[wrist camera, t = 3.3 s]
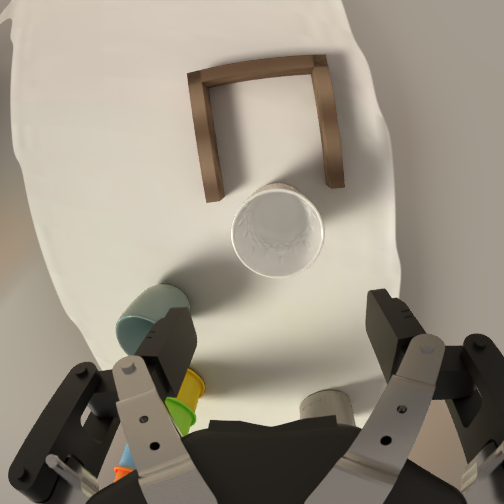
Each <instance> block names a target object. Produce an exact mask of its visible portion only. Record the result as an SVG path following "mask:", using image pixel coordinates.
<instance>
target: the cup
mask: <svg viewBox="0 0 504 504" xmlns="http://www.w3.org/2000/svg"><path fill="white" fill-rule="evenodd" d="M171 307H188V309H189V311H190V304H189V301H188V299H187V297H186V295H185V294H184V293H183V292H182V291H181V290H180V289H179V288H177V287H175V286H172V285H167V284H159V285H155V286H152V287H150V288H148V289H147V290H145V291H144V292H143V293H141V294H140V295H139V296H138V297H137V298H136V299H135V300H134V301H133V302H132V303H131V304H130V306H129V307H128V308H127V309H126V310H125V311H124V313H123V314H122V315H121V317H120V318H119V320H118V321H117V324H116V336H117V339H118V342H119V344H120V346H121V348H122V349H123V350H124V352H125V353H126V354H127V355H128V356H133V355H134V354H135V352H136V351H137V349H138V348H139V346H140V344H141V343H142V341H143V340H144V338H146V335H147V334H148V332H149V330H150V329H151V327H152V326H153V324H154V323H156V322H157V321H158V320H160V319H161V318H164V317H165V316H166V314H167V312H168V311H169V309H170V308H171Z"/></svg>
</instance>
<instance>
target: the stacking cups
mask: <svg viewBox="0 0 504 504" xmlns="http://www.w3.org/2000/svg"><path fill="white" fill-rule="evenodd" d="M204 392H205V385H204V382H203V380H202V379H201V378H200V377H199V376H198V375H197V374H196V373H195V372H194V371H192V370H191V369H189V368H188V370H187V372H186V375H185V378H184V380H183V383H182V385H181V388H180V391H179V393H178V396H177V398H171V397H167V398H166V400H165V403H166V405H167V407H168V409H169V411H170V413H171V415H172V417H173V419H174V421H175V423H176V425H177V427H178V428H179V430H180V432H181V434H182V436H183V437H184V436H185V435H188V432H189V429H190V427H191V426H192V425H194V424H195V422H196V415H195V409H196V406H197V403H198V399H199V398H200V397H202V396H203V394H204ZM135 469H136V466H135V463H134V461H133V458H132V455H131V452H130V449H129V446H128V443H127V445H126V448H125V450H124V453H123V456H122V459H121V461H120V464H119V466H117V467H115V468H114V470H115V472H116V473H117V474H116V478H115V481H117V480H119V479H120V478H122V477H124V476H125V475H127V474H129V473H130V472H132V471H133V470H135ZM115 481H114V482H115Z"/></svg>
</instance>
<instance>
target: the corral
mask: <svg viewBox="0 0 504 504" xmlns="http://www.w3.org/2000/svg"><path fill="white" fill-rule="evenodd" d="M306 74H311V77H312V82H313V88H314V94H315V100H316V106H317V112H318V119H319V126H320V133H321V141H322V149H323V157H324V166H325V176H326V185H327V186H328V187H330V188H343V187H345V184H344V173H343V162H342V153H341V144H340V136H339V128H338V121H337V114H336V108H335V102H334V96H333V90H332V84H331V79H330V74H329V69H328V64H327V59H326V55H302V56H287V57H276V58H267V59H259V60H252V61H245V62H239V63H233V64H227V65H222V66H217V67H212V68H208V69H203V70H199V71H195V72H191V73H187V77H188V85H189V93H190V100H191V108H192V115H193V122H194V129H195V135H196V142H197V148H198V155H199V161H200V167H201V173H202V179H203V185H204V191H205V197H206V203H209V202H216V201H220V200H221V199H223V198H224V197H225V195H224V189H223V183H222V176H221V170H220V164H219V157H218V151H217V144H216V137H215V131H214V124H213V117H212V110H211V103H210V96H209V89H208V88H210V87H214V86H219V85H225V84H230V83H236V82H242V81H248V80H255V79H263V78H271V77H281V76H292V75H306Z"/></svg>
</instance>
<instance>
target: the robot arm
mask: <svg viewBox="0 0 504 504" xmlns="http://www.w3.org/2000/svg"><path fill="white" fill-rule="evenodd" d="M366 331H367V334H368V337H369V339H370V342H371V344H372V346H373V349H374V351H375V354H376V356H377V359H378V361H379V364H380V367H381V369H382V372H383V374H384V377H385V380H386V382H387V387H386V389H385V391H384V393H383V394H382V396H381V398H380V400H379V402H378V403H377V405H376V407H375V409H374V410H373V412H372V414H371V415H370V417H369V419H368V420H367V422H366V424H365V425H364V427H363V428H362V429H361V428H359V427H356V425H355V420H354V415H353V410H352V406H351V405H350V402H349V398H348V396H347V395H346V394H344V393H342V392H339V391H333V390H328V391H321V392H317V393H315V394H312V395H310V396H308V397H307V398H306V399H304V401H303V402H302V403H301V405H300V420H297V421H293V422H290V423H286V424H282V425H278V426H274V427H268V426H263V425H257V424H252V423H247V422H243V421H222V420H210V423H209V427H208V428H207V429H202V430H198V431H195V432H192V433H190V434H188V435H185V436H184V437H183V436H182V434H181V432H180V430H179V428H178V427H177V425H176V423H175V421H174V419H173V417H172V415H171V413H170V411H169V409H168V407H167V405H166V403H165V400H166V398H167V397H171V398H177V396H178V393H179V391H180V388H181V385H182V383H183V380H184V378H185V375H186V372H187V370H188V367H189V365H190V362H191V359H192V357H193V354H194V352H195V349H196V346H197V335H196V331H195V328H194V325H193V321H192V318H191V314H190V311H189V309H188V307H171V308H170V309H169V311H168V312H167V314H166V316H165V317H164V318H161V319H160V320H158V321H157V322H156V323H154V324H153V326H152V327H151V329H150V330H149V332H148V334H147V335H146V338H144V340H143V341H142V343H141V344H140V346H139V348H138V349H137V351H136V352H135V354H134V355H133V356H127V357H124V358H122V359H120V360H119V361H118V362H116V364H115V365H114V366H113V369H112V370H105V371H98V369H97V368H96V366H95V365H94V364H93V363H91V362H83V363H80V364H78V365H76V366H75V367H73V368H72V369H71V371H70V372H69V374H68V375H67V376H66V378H65V379H64V380H63V382H62V384H61V385H60V386H59V388H58V389H57V391H56V392H55V394H54V395H53V397H52V398H51V400H50V401H49V403H48V405H47V406H46V407H45V409H44V410H43V412H42V413H41V415H40V417H39V418H38V420H37V422H36V423H35V425H34V426H33V428H32V430H31V431H30V433H29V435H28V436H27V438H26V439H25V441H24V443H23V445H22V447H21V448H20V450H19V452H18V454H17V455H16V457H15V459H14V461H13V462H12V464H11V466H10V468H9V473H8V478H9V481H10V484H11V485H12V486H13V487H14V488H15V489H16V490H18V491H19V492H20V493H22V494H23V495H25V496H26V497H27V498H28V499H29V500H30V501H32V502H33V503H35V504H504V357H503V355H502V354H501V352H500V351H499V349H498V348H497V347H496V345H495V344H494V343H493V341H492V340H491V339H490V338H489V337H487V336H485V335H482V334H471V335H469V336H467V337H466V338H465V340H464V343H463V346H445V345H444V342H443V341H442V340H441V339H440V338H439V337H437V336H435V335H432V334H426V332H425V331H424V329H423V328H422V326H421V325H420V323H419V322H418V320H417V319H416V318H415V317H414V315H413V313H412V312H411V311H410V309H409V308H408V306H407V305H406V304H405V303H404V302H402V301H401V300H400V299H398V298H391V296H390V295H389V293H388V292H387V290H386V289H377V290H370V291H368V295H367V309H366ZM477 388H478V390H479V392H480V393H479V392H478V390H477ZM480 394H481V395H480ZM443 399H445V402H446V404H447V406H448V409H449V411H450V414H451V417H452V419H453V422H454V424H455V427H456V430H457V432H458V435H459V438H460V441H461V444H462V447H463V450H464V453H465V456H466V460H467V463H468V465H467V466H466V467H465V469H464V471H463V474H462V489H461V492H460V491H459V490H458V489H457V488H455V487H454V486H452V485H450V484H448V483H447V482H445V481H443V480H441V479H440V478H438V477H436V476H435V475H433V474H431V473H430V472H428V471H427V470H425V469H423V468H422V467H420V466H418V465H417V464H415V463H414V462H412V461H411V460H409V459H408V456H409V453H410V451H411V449H412V447H413V445H414V443H415V440H416V438H417V436H418V434H419V431H420V429H421V426H422V424H423V421H424V419H425V416H426V413H427V411H428V408H429V405H430V402H431V400H443ZM86 406H88V407H89V408H90V410H91V412H90V414H89V416H88V418H87V420H86V422H85V424H84V426H83V427H82V425H81V421H80V419H81V415H82V414H83V412H84V410H85V408H86ZM120 422H121V424H122V427H123V431H124V434H125V437H126V440H127V443H128V446H129V449H130V452H131V455H132V458H133V461H134V463H135V466H136V469H135V470H133V471H132V472H130V473H129V474H127V475H125V476H124V477H122V478H120V479H119V480H117V481H115V482H114V483H112V484H110V485H109V486H107V487H105V488H103V489H102V490H100V491H99V483H98V480H97V478H98V475H99V472H100V470H101V467H102V465H103V462H104V460H105V457H106V455H107V452H108V450H109V448H110V445H111V443H112V440H113V438H114V435H115V433H116V431H117V429H118V426H119V424H120Z"/></svg>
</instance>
